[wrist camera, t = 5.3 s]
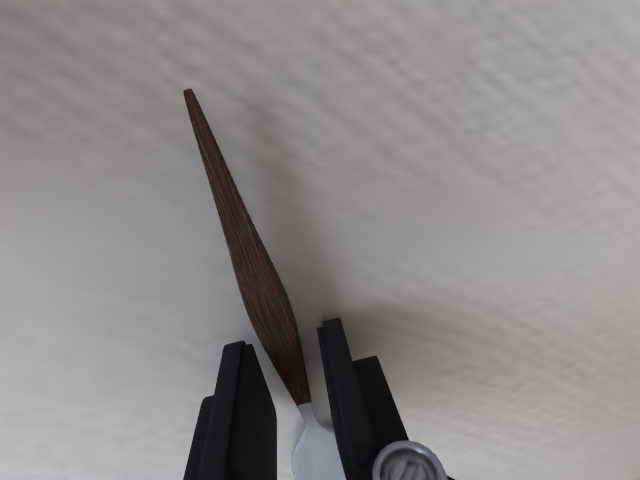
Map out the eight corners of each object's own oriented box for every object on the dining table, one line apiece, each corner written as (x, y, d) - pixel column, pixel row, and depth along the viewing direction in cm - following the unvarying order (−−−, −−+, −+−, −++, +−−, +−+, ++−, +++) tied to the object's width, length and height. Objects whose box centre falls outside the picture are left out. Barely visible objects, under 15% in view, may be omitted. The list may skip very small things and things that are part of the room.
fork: (250, 73, 8) (243, 68, 6) (378, 502, 14) (394, 564, 12) (134, 105, 8) (91, 109, 6) (315, 520, 14) (322, 585, 12)
